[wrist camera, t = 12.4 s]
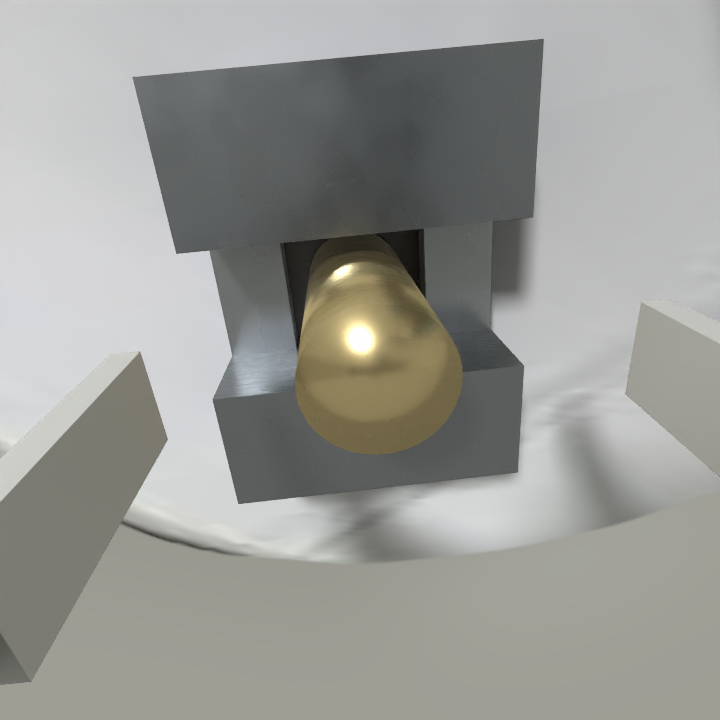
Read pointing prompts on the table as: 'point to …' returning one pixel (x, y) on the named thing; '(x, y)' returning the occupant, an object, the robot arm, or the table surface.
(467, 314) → the jig
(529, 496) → the table surface
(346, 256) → the gold metal cylinder
